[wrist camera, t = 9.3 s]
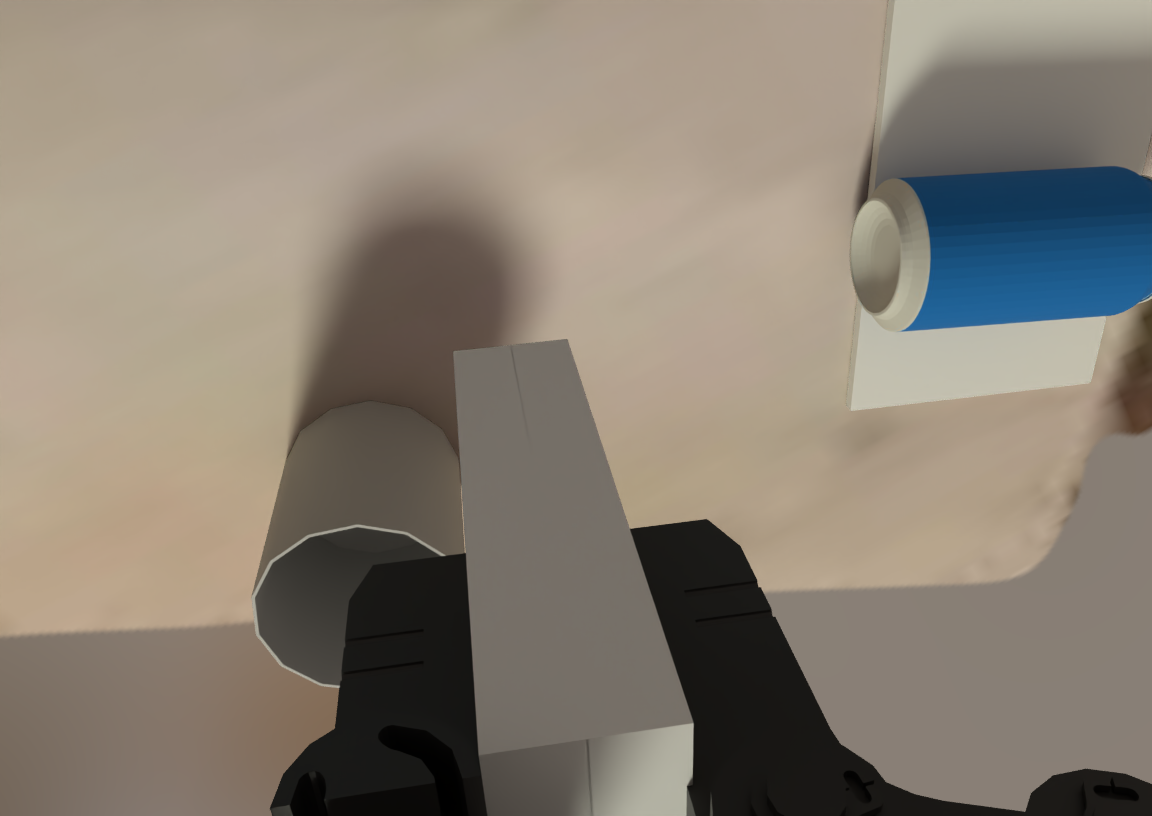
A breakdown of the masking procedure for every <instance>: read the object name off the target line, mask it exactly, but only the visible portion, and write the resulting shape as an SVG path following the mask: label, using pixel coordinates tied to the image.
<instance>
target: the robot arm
mask: <svg viewBox="0 0 1152 816" xmlns="http://www.w3.org/2000/svg"><path fill="white" fill-rule="evenodd" d="M453 359H454V375H455V390H456V406H457V422H458V438H459V453H460V469H461V485H462V501H463V516H464V532H465V548H466V553H463V554H455V555H447V556H439V557H431V558H424V559H416V560H408V561H400V562H392V563H384V564H377V565H373V566H372V567H371V569H370V570H369V572H368V573H367V575H366V576H365V578H364V579H363V581H362V582H361V583H360V585H359V586H358V588H357V589H356V591H355V592H354V594H353V595H352V597H351V598H350V600H349V605H348V614H347V623H346V632H345V647H344V651H343V660H342V669H341V674H342V681H340V687H339V697H338V706H337V716H336V724H335V729H334V730H332V731H330V732H329V733H327V734H326V735H324V736H323V737H321V738H319V739H318V740H316V741H314V742H313V743H311V744H310V745H309V746H308V747H307V748H306V749H305V750H304V751H303V752H302V754H301V755H300V756H299V757H298V758H297V759H296V760H295V761H294V763H293V764H292V765H291V766H290V767H289V768H288V769H287V770H286V772H285V773H284V774H283V776H282V779H281V781H280V784H279V786H278V789H277V792H276V794H275V797H274V799H273V802H272V804H271V807H270V810H271V813H272V816H1152V784H1150V783H1148V782H1145V781H1142V780H1140V779H1137V778H1135V777H1132V776H1130V775H1127V774H1123V773H1115V772H1107V771H1099V770H1091V769H1083V770H1078V771H1073V772H1068V773H1063V774H1058V775H1053V776H1052V777H1051V778H1050V779H1048V780H1047V781H1046V782H1044V783H1043V784H1042V785H1041V786H1040V787H1038V788H1037V789H1036V790H1034V791H1033V792H1032V793H1031V795H1030V799H1029V802H1028V805H1027V808H1026V812H1022V811H1015V810H1006V809H999V808H992V807H985V806H977V805H970V804H962V803H955V802H947V801H942V800H937V799H933V798H929V797H924V796H920V795H916V794H913V793H910V792H908V791H905V790H903V789H901V788H898V787H896V786H894V785H891V784H889V783H886V782H885V780H884V779H883V778H882V777H881V775H880V774H879V773H878V772H877V770H876V769H875V768H874V766H873V765H871V764H870V763H868V762H867V761H865V760H864V759H862V758H861V757H859V756H858V755H856V754H855V753H853V752H852V751H850V750H849V749H847V748H846V747H844V746H842V745H841V744H840V743H839V741H838V740H837V738H836V737H835V735H834V734H833V732H832V730H831V729H830V727H829V725H828V723H827V721H826V719H825V717H824V715H823V713H822V711H821V709H820V707H819V705H818V703H817V701H816V699H815V697H814V695H813V693H812V690H811V688H810V686H809V685H808V683H807V681H806V678H805V676H804V674H803V672H802V670H801V668H800V666H799V664H798V662H797V660H796V658H795V656H794V654H793V652H792V650H791V648H790V646H789V644H788V642H787V640H786V638H785V636H784V634H783V632H782V630H781V628H780V626H779V624H778V622H777V620H776V617H773V616H772V611H771V607H770V605H769V603H768V601H767V599H766V597H765V595H764V593H763V591H762V589H761V587H758V584H757V579H756V577H755V575H754V573H753V571H752V569H751V567H750V565H749V563H748V561H747V559H746V557H745V555H744V552H743V550H742V548H741V546H740V545H738V544H737V543H736V542H735V541H733V540H732V539H731V538H730V537H728V536H727V535H726V534H725V533H724V532H722V531H721V530H720V529H719V528H717V527H716V526H715V525H714V524H712V523H711V522H710V521H709V520H707V519H704V520H697V521H689V522H681V523H673V524H665V525H657V526H649V527H642V528H634V529H630V528H629V525H628V522H627V519H626V516H625V513H624V510H623V507H622V504H621V501H620V498H619V495H618V492H617V489H616V486H615V483H614V480H613V477H612V474H611V470H610V467H609V464H608V461H607V458H606V455H605V452H604V449H603V446H602V443H601V440H600V437H599V434H598V431H597V428H596V425H595V422H594V419H593V416H592V413H591V410H590V407H589V404H588V401H587V398H586V394H585V391H584V388H583V385H582V382H581V379H580V376H579V373H578V370H577V367H576V364H575V361H574V358H573V355H572V352H571V349H570V346H569V343H568V340H567V339H564V340H554V341H545V342H535V343H526V344H516V345H507V346H497V347H488V348H478V349H469V350H459V351H453Z"/></svg>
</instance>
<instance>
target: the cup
mask: <svg viewBox="0 0 1152 816" xmlns="http://www.w3.org/2000/svg"><path fill="white" fill-rule="evenodd" d="M463 553H465V552H464V535H463V519H462V503H461V486H460V470H459V458H458V457H457V455H456V453H455V451H454V450H453V448H452V446H451V444H450V442H449V441H448V439H447V437H446V435H445V434H444V432H443V430H442V429H441V428H439V427H438V426H436V425H435V424H434V423H432V422H431V421H429V420H428V419H426V418H425V417H423V416H422V415H420V414H419V413H417V412H416V411H414V410H413V409H411V408H407V407H402V406H397V405H392V404H386V403H381V402H376V401H367V402H362V403H357V404H352V405H347V406H342V407H337V408H332V409H330V410H329V411H327V412H326V413H325V414H323V415H322V416H321V417H319V418H318V419H316V420H315V421H314V422H312V423H311V424H309V425H308V426H307V427H305V428H304V429H303V430H301V431H300V433H299V435H298V437H297V439H296V441H295V443H294V445H293V448H292V450H291V452H290V454H289V456H288V458H287V460H286V462H285V466H284V470H283V474H282V478H281V482H280V486H279V490H278V494H277V498H276V502H275V506H274V510H273V514H272V518H271V522H270V526H269V530H268V534H267V538H266V542H265V546H264V550H263V554H262V558H261V561H260V565H259V569H258V573H257V577H256V581H255V585H254V589H253V593H252V597H251V598H252V606H253V614H254V623H255V631H256V636H257V637H258V638H259V639H260V641H261V642H262V643H263V644H264V645H265V647H266V648H267V649H268V651H269V652H270V653H271V654H272V656H273V657H274V658H275V659H276V661H277V662H278V663H279V664H280V666H281V667H283V668H285V669H288V670H290V671H292V672H294V673H296V674H298V675H300V676H302V677H304V678H306V679H308V680H310V681H312V682H314V683H316V684H318V685H320V686H327V687H336V688H339V687H340V681H342V674H341V669H342V660H343V651H344V647H345V632H346V623H347V614H348V605H349V600H350V598H351V597H352V595H353V594H354V592H355V591H356V589H357V588H358V586H359V585H360V583H361V582H362V581H363V579H364V578H365V576H366V575H367V573H368V572H369V570H370V569H371V567H372V566H373V565H377V564H384V563H392V562H400V561H408V560H416V559H424V558H431V557H439V556H447V555H455V554H463Z"/></svg>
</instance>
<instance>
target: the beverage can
mask: <svg viewBox="0 0 1152 816" xmlns="http://www.w3.org/2000/svg"><path fill="white" fill-rule="evenodd" d="M850 270H851V277H852V282H853V286H854V290H855V293H856V296H857V298H858V300H859V302H860V304H861V306H862V307H863V308H864V310H865V311H866V312H868V313H869V314H870V315H872V316H873V318H874V319H875V321H876V322H877V323H878V324H879V325H880V326H881V327H882V328H884V329H885V330H888V331H890V332H905V331H918V330H931V329H944V328H957V327H970V326H983V325H996V324H1009V323H1022V322H1035V321H1048V320H1061V319H1074V318H1087V317H1100V316H1111V315H1116V314H1119V313H1122V312H1124V311H1126V310H1128V309H1130V308H1131V307H1133V306H1134V305H1136V304H1138V303H1142V302H1145V301H1148V300H1150V299H1152V177H1149V176H1145V175H1139V174H1137V173H1136V172H1134V171H1131V170H1129V169H1127V168H1123V167H1118V166H1101V167H1084V168H1066V169H1048V170H1030V171H1013V172H995V173H977V174H959V175H942V176H924V177H906V178H892V179H888V180H886V181H884V182H882V183H881V184H880V185H879V186H878V187H877V188H876V189H875V191H874V192H873V194H872V195H871V197H870V199H869V200H868V201H866V202H865V203H864V204H863V206H862V207H861V209H860V210H859V212H858V214H857V216H856V219H855V222H854V225H853V230H852V234H851V242H850Z"/></svg>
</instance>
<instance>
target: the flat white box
mask: <svg viewBox="0 0 1152 816" xmlns="http://www.w3.org/2000/svg"><path fill="white" fill-rule="evenodd" d="M1151 136H1152V0H888V8H887V17H886V27H885V36H884V46H883V55H882V65H881V74H880V84H879V93H878V103H877V113H876V122H875V132H874V141H873V151H872V160H871V170H870V179H869V189H868V199H867V201H868V200H869V199H870V197H871V195H872V194H873V192H874V191H875V189H876V188H877V187H878V186H879V185H880V184H881V183H882V182H884V181H886V180H888V179H892V178H906V177H924V176H942V175H959V174H977V173H995V172H1013V171H1030V170H1048V169H1066V168H1084V167H1101V166H1118V167H1123V168H1127V169H1129V170H1131V171H1134V172H1136V173H1137V174H1139V175H1142V172H1143V168H1144V164H1145V160H1146V156H1147V152H1148V148H1149V144H1150V140H1151ZM1106 318H1107V316H1100V317H1087V318H1074V319H1061V320H1048V321H1035V322H1022V323H1009V324H996V325H983V326H970V327H957V328H944V329H931V330H918V331H905V332H890V331H888V330H885V329H884V328H882V327H881V326H880V325H879V324H878V323H877V322H876V321H875V319H874V318H873V316H872V315H870V314H869V313H868V312H866V311H865V310H864V308H863V307H862V306H861V304H860V302H859V300H858V298H857V304H856V313H855V323H854V332H853V342H852V351H851V361H850V370H849V380H848V389H847V399H846V406H847V407H848V408H849V410H850V411H854V410H863V409H871V408H880V407H889V406H897V405H906V404H914V403H923V402H932V401H940V400H949V399H958V398H966V397H975V396H983V395H992V394H1001V393H1009V392H1018V391H1027V390H1035V389H1044V388H1052V387H1061V386H1070V385H1078V384H1087V383H1091V379H1092V375H1093V371H1094V367H1095V363H1096V358H1097V354H1098V350H1099V346H1100V342H1101V338H1102V334H1103V330H1104V326H1105V322H1106Z"/></svg>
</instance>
